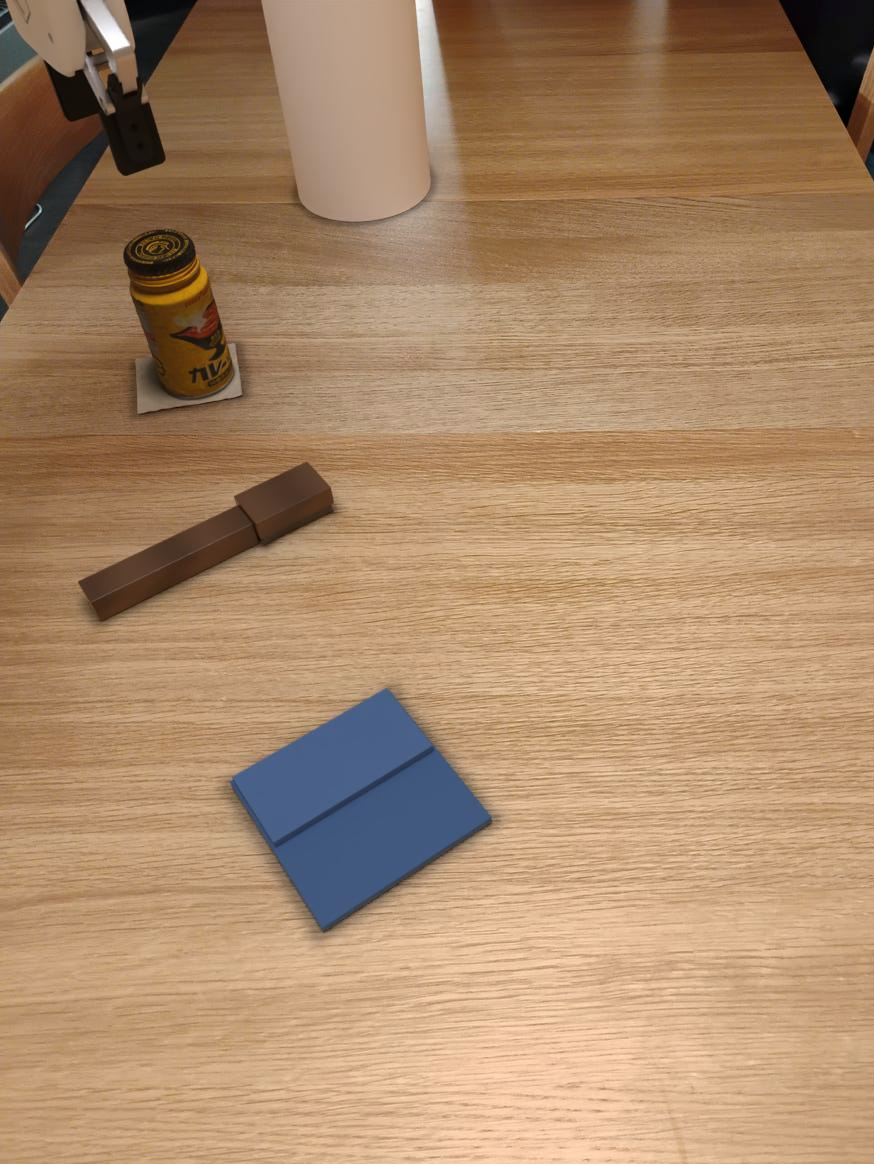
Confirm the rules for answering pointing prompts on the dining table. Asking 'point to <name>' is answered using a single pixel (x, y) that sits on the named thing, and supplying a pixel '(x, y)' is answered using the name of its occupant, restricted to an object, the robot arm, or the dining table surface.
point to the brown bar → (212, 540)
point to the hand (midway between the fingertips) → (114, 140)
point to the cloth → (358, 806)
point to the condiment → (177, 325)
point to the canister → (352, 104)
